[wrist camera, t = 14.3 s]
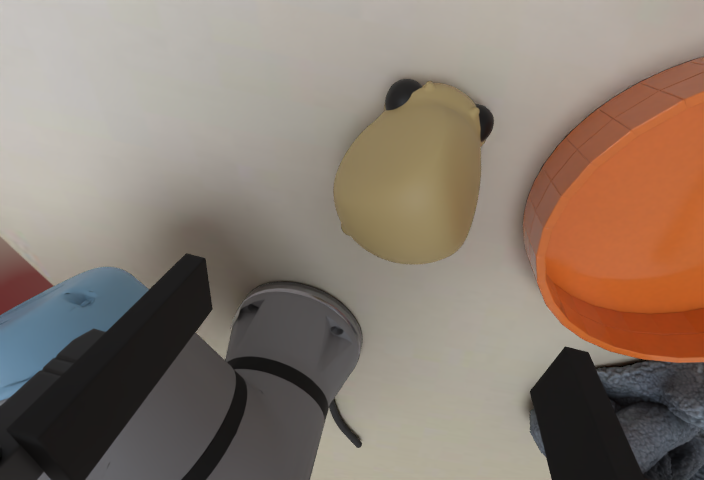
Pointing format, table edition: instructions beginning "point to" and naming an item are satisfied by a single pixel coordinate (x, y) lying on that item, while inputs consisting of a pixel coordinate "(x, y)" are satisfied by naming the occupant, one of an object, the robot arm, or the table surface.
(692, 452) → the koala plush
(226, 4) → the table surface
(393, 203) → the beige pug toy
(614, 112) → the pan
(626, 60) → the table surface
